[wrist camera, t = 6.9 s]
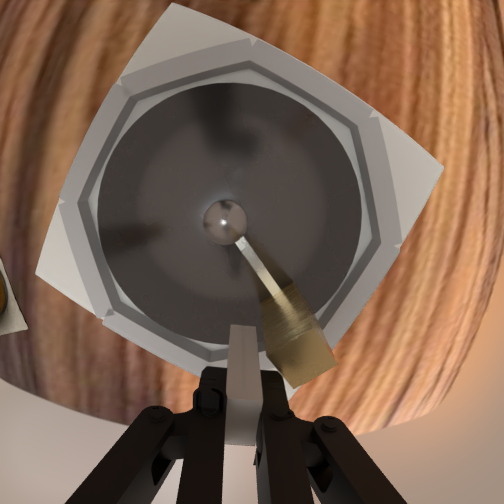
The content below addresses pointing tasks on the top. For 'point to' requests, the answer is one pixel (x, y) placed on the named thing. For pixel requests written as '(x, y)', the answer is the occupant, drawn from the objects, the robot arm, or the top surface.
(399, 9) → the top surface
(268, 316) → the dial
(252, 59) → the dial base
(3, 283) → the condiment
